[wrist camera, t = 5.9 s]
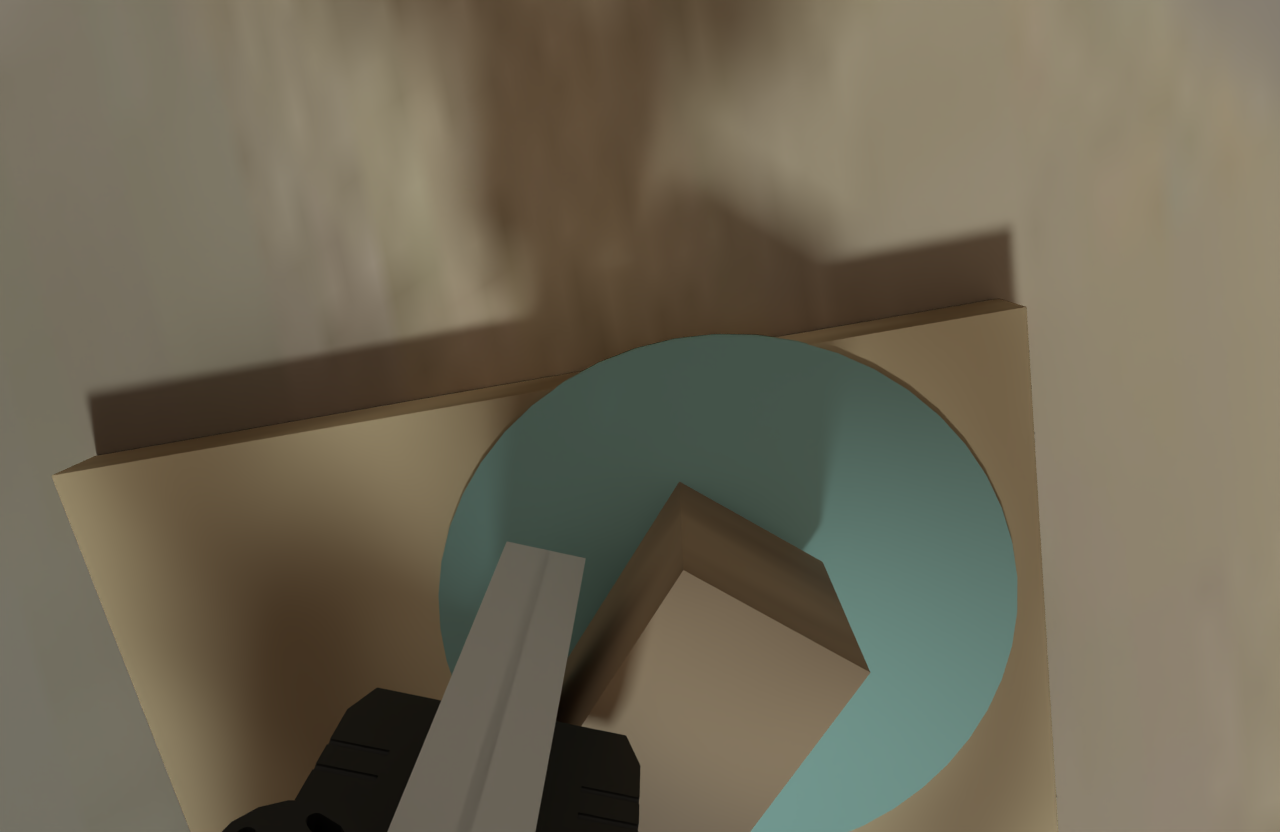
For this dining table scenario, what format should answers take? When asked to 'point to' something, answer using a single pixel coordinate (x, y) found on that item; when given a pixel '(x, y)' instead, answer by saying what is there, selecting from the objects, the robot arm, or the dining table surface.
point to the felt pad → (790, 509)
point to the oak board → (411, 564)
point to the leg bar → (714, 666)
